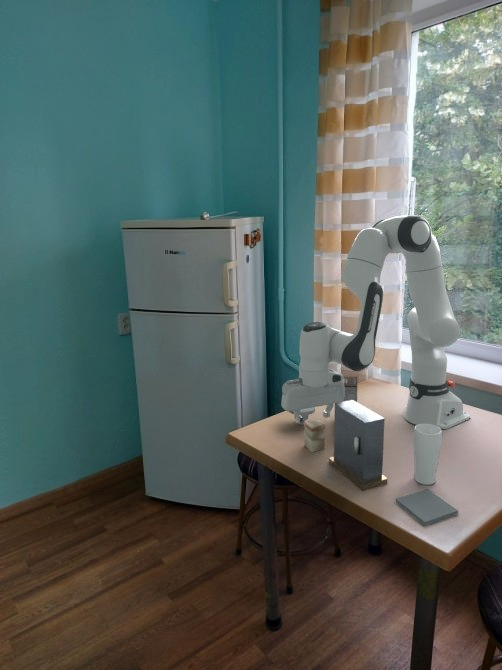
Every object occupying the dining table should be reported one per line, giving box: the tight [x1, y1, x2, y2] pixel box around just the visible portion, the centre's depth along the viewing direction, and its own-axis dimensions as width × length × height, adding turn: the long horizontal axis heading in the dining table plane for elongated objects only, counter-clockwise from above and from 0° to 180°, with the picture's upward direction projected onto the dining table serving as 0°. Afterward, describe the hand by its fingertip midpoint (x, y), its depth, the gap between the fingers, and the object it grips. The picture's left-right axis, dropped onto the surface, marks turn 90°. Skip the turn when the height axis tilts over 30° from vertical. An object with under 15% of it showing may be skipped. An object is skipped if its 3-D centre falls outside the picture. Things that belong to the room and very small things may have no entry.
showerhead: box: [289, 407, 316, 426], centre depth 159 cm, size 9×7×10 cm
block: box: [303, 418, 326, 453], centre depth 142 cm, size 5×5×8 cm
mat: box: [395, 488, 459, 526], centre depth 111 cm, size 10×10×1 cm
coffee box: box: [342, 376, 358, 403], centre depth 156 cm, size 9×6×16 cm
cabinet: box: [328, 400, 388, 492], centre depth 125 cm, size 8×16×18 cm, turn 23°
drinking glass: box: [413, 424, 443, 486], centre depth 121 cm, size 7×7×15 cm
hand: (312, 419), depth 141 cm, fingers open, 8 cm apart
